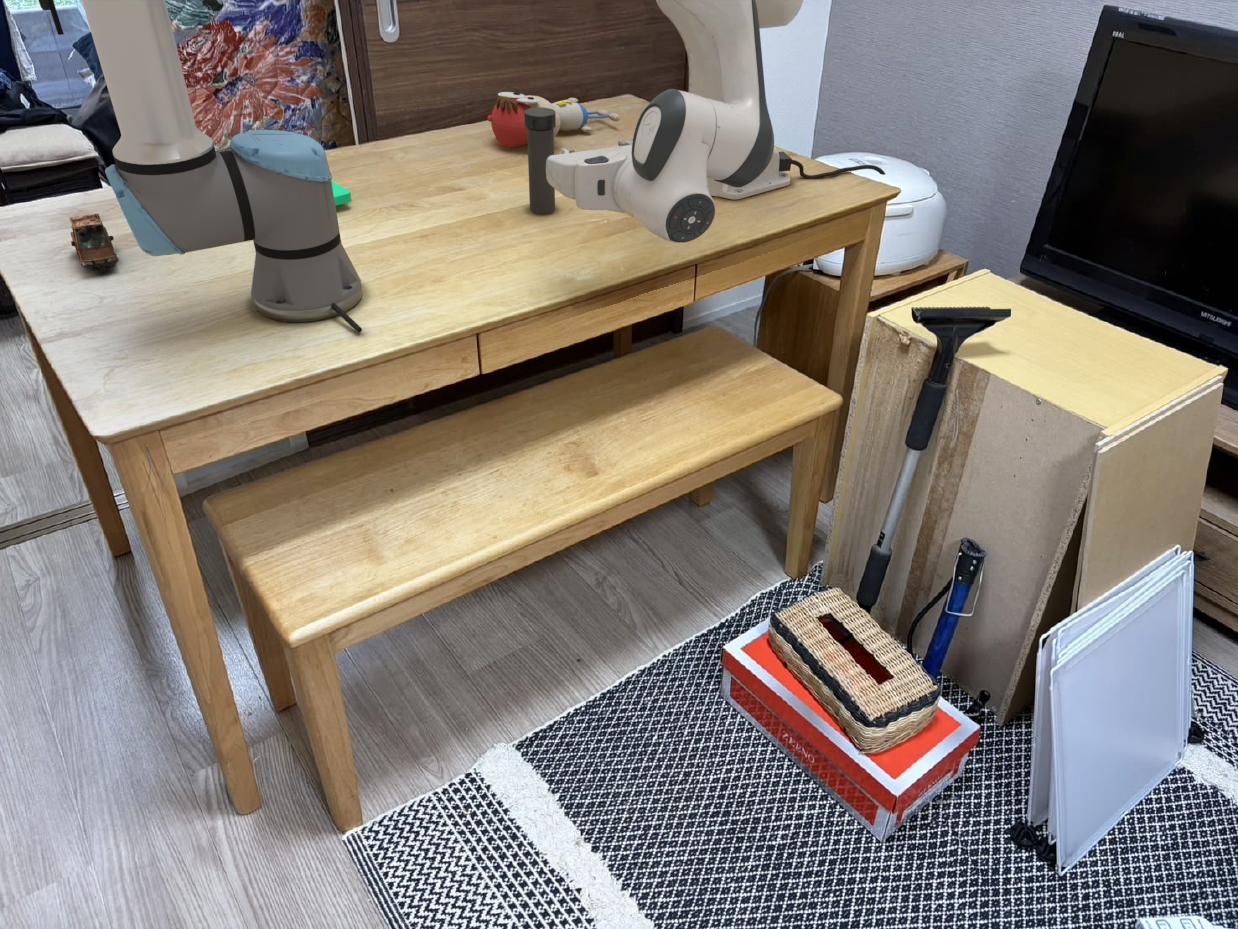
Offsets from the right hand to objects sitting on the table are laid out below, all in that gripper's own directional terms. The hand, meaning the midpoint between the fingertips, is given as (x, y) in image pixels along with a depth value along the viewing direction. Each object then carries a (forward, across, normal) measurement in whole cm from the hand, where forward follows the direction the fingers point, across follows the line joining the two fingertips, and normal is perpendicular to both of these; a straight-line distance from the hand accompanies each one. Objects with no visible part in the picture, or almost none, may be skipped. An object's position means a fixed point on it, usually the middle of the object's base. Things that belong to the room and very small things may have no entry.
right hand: (594, 149), depth 139 cm
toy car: (+28, +71, +17) cm, 78 cm away
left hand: (+51, +61, -11) cm, 80 cm away
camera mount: (+39, +36, +17) cm, 56 cm away
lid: (+21, 0, 0) cm, 21 cm away
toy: (+59, -18, +17) cm, 64 cm away
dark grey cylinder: (+21, 0, +17) cm, 27 cm away
